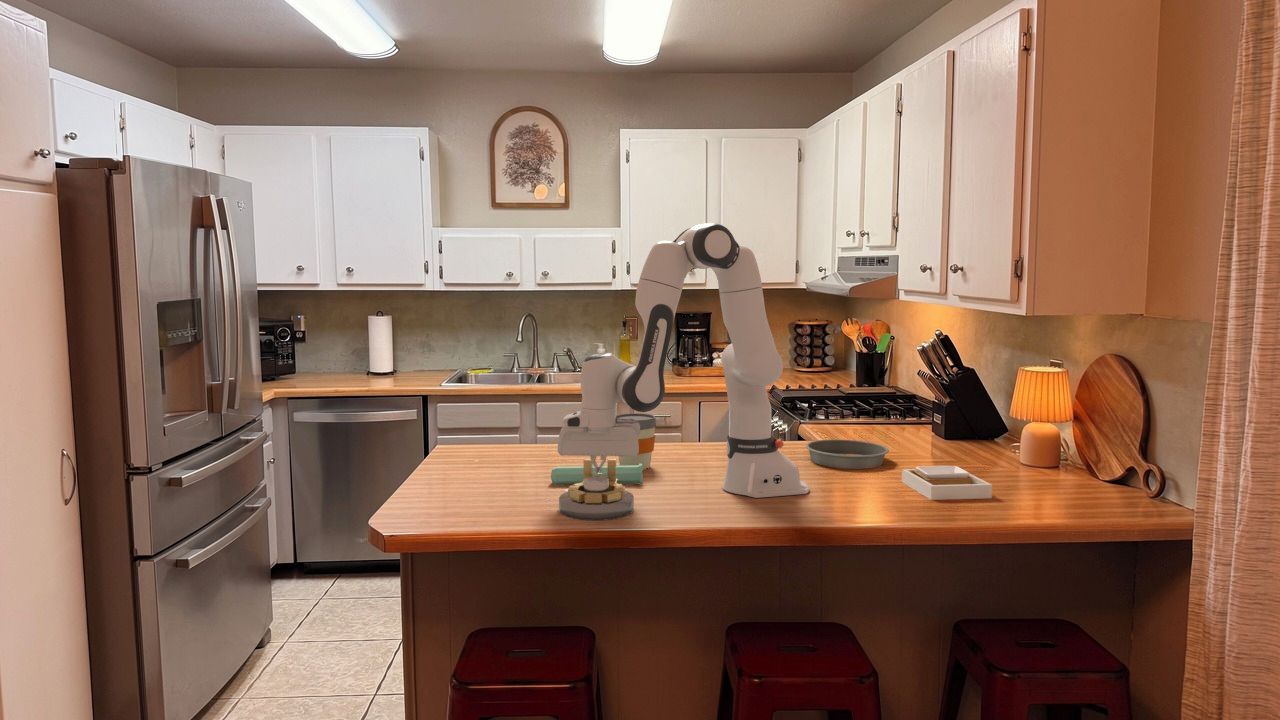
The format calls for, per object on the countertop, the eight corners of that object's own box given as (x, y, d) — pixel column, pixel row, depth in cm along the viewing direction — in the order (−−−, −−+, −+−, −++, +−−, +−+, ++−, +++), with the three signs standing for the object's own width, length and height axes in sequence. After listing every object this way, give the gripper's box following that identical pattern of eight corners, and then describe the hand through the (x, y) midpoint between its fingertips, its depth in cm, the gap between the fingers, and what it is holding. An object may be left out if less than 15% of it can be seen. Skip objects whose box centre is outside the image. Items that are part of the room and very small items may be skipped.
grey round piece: (630, 498, 207) (630, 469, 207) (636, 519, 190) (636, 487, 189) (559, 500, 206) (559, 470, 205) (559, 521, 188) (558, 489, 187)
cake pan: (898, 471, 237) (899, 455, 236) (813, 470, 237) (814, 455, 237) (876, 452, 261) (876, 439, 261) (799, 452, 262) (799, 438, 261)
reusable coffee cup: (662, 469, 238) (662, 418, 236) (622, 473, 233) (622, 421, 232) (646, 460, 250) (646, 412, 248) (607, 464, 245) (607, 414, 243)
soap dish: (957, 483, 223) (957, 464, 222) (973, 492, 213) (973, 473, 213) (912, 483, 222) (912, 465, 222) (925, 493, 213) (926, 474, 212)
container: (549, 463, 220) (642, 461, 220) (552, 466, 226) (642, 465, 226) (549, 485, 219) (642, 483, 218) (551, 488, 224) (642, 486, 224)
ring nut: (621, 503, 190) (621, 474, 190) (564, 502, 191) (564, 473, 190) (627, 485, 207) (627, 457, 206) (574, 484, 208) (574, 457, 207)
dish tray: (957, 480, 225) (958, 468, 224) (991, 498, 207) (992, 484, 206) (901, 482, 223) (902, 469, 223) (930, 499, 205) (931, 486, 205)
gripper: (640, 416, 206) (639, 470, 207) (559, 415, 206) (559, 469, 208) (640, 420, 200) (639, 476, 201) (556, 420, 200) (556, 475, 201)
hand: (598, 472), depth 204 cm, fingers closed
